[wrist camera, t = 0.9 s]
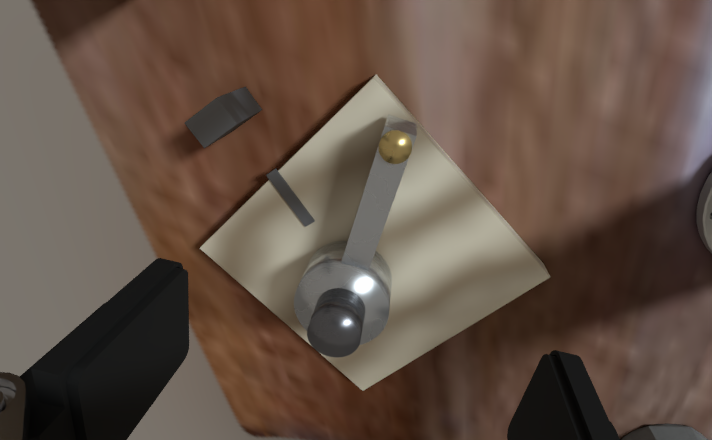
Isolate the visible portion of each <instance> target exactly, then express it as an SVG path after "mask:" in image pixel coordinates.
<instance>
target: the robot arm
mask: <svg viewBox="0 0 712 440" xmlns="http://www.w3.org/2000/svg"><path fill="white" fill-rule="evenodd" d="M696 223H697V227H698V231H699V235H700V238H701V239H702V241H703V243H704V245H705V247H706V248H707V249H708V250H709V251H710V252H711V253H712V172H711V173H710V175H709V176H708V178H707V180H706V182H705V184H704V187H703V189H702V191H701V193H700V197H699V201H698V205H697V220H696ZM188 349H189V310H188V272H187V270H184V269H183V266H182V264H181V263H179V262H174V261H170V260H166V259H161V258H158V259H156V260H155V261H154V262H153V263H151V264H150V265H149V266H148V267H147V268H146V269H145V270H143V271H142V272H141V273H140V274H139V275H138V276H137V277H135V278H134V279H133V280H132V281H131V282H129V283H128V284H127V285H126V286H125V287H124V288H123V289H121V290H120V291H119V292H118V293H117V294H116V295H115V296H114V297H112V298H111V299H110V300H109V301H108V302H106V303H105V304H103V305H102V306H101V307H100V308H98V309H97V310H96V311H95V312H94V313H93V314H92V315H90V316H89V317H88V318H87V319H86V320H85V321H84V322H82V323H81V324H80V325H79V326H78V327H76V328H75V329H74V330H73V331H72V332H71V333H70V334H68V335H67V336H66V337H65V338H64V339H63V340H62V341H60V342H59V343H58V344H57V345H56V346H55V347H53V348H52V349H51V350H50V351H49V352H48V353H46V354H45V355H44V356H43V357H42V358H41V359H40V360H38V361H37V362H36V363H35V364H34V365H33V366H32V367H30V368H29V369H28V370H27V371H26V372H25V373H23V374H22V375H21V376H20V377H19V376H17V375H14V374H11V373H4V372H3V373H2V372H0V440H127V438H128V437H129V435H130V434H131V433H132V431H133V430H134V428H135V427H136V426H137V424H138V423H139V422H140V420H141V419H142V417H143V416H144V415H145V413H146V412H147V411H148V409H149V408H150V407H151V405H152V404H153V402H154V401H155V400H156V398H157V397H158V395H159V394H160V393H161V391H162V390H163V389H164V387H165V386H166V384H167V383H168V382H169V380H170V379H171V378H172V376H173V375H174V373H175V372H176V371H177V369H178V368H179V367H180V365H181V364H182V362H183V361H184V359H185V358H186V356H187V353H188ZM507 439H508V440H620V439H619V436H618V434H617V432H616V430H615V428H614V426H613V425H612V423H611V422H610V421H609V419H608V417H607V415H606V413H605V411H604V408H603V406H602V404H601V402H600V399H599V397H598V395H597V393H596V391H595V388H594V386H593V384H592V382H591V380H590V377H589V375H588V373H587V371H586V368H585V366H584V364H583V362H582V360H581V358H580V357H579V356H577V355H573V354H569V353H565V352H560V351H556V350H555V351H552V352H551V353H550V355H547V354H544V355H543V356H542V358H541V360H540V362H539V364H538V366H537V368H536V370H535V372H534V375H533V377H532V379H531V381H530V383H529V385H528V387H527V389H526V391H525V393H524V395H523V398H522V400H521V402H520V404H519V406H518V408H517V410H516V412H515V414H514V416H513V418H512V421H511V423H510V425H509V428H508V434H507Z"/></svg>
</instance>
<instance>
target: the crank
mask: <svg viewBox="0 0 712 440" xmlns="http://www.w3.org/2000/svg"><path fill="white" fill-rule="evenodd" d="M416 137H417V123H414V122H411V121H408V120H404V119H401V118H398V117H395V116H392V115H389V114H388V117H387V120H386V123H385V126H384V129H383V132H382V135H381V139H380V142H379V145H378V148H377V151H376V154H375V157H374V160H373V164H372V167H371V170H370V173H369V176H368V179H367V182H366V186H365V189H364V192H363V195H362V198H361V201H360V204H359V208H358V211H357V214H356V217H355V220H354V223H353V226H352V229H351V233H350V236H349V239H348V241H336V242H332V243H329V244H327V245H325V246H323V247H321V248H320V249H318V250H317V251H316V252H315V253H314V254H313V256H312V257H311V259H310V261H309V263H308V265H307V267H306V269H305V272H304V274H303V276H302V278H301V281H300V283H299V285H298V287H297V290H296V292H295V296H294V310H295V313H296V316H297V318H298V320H299V322H300V324H301V325H302V326H303V327H304V329H305V330H306V331H307V337H308V340H309V342H310V344H311V345H312V347H313V348H314V349H315V350H317V351H318V352H319V353H321V354H323V355H326V356H329V357H336V358H338V357H345V356H348V355H350V354H352V353H353V352H355V351H356V350H357V348H358V347H359V345H362V344H365V343H367V342H369V341H371V340H373V339H374V338H376V337H377V336H378V335H379V334H380V333H381V332H382V331H383V329H384V328H385V326H386V324H387V321H388V317H389V309H390V298H391V288H392V275H391V271H390V268H389V266H388V264H387V262H386V261H385V259H384V258H383V257H382V256H381V255H380V254H379V253H378V252H377V251H376V248H377V246H378V243H379V240H380V237H381V234H382V232H383V229H384V226H385V223H386V220H387V218H388V215H389V212H390V209H391V206H392V204H393V201H394V198H395V195H396V193H397V190H398V187H399V184H400V181H401V179H402V176H403V173H404V170H405V167H406V165H407V162H408V159H409V156H410V154H411V151H412V148H413V145H414V142H415V139H416Z"/></svg>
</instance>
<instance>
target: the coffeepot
mask: <svg viewBox="0 0 712 440" xmlns="http://www.w3.org/2000/svg"><path fill="white" fill-rule="evenodd" d="M621 440H708V439H706V438H705V437H704V436H703V435H702V434H701V433H699V432H698V431H696V430H694V429H693V428H692V427H688V426H683V425H677V424H656V425H650V426H646V427H643V428H639V429H637V430H635V431H633V432H631V433H629V434H628V435H626V436H625V437H623V438H622V439H621Z"/></svg>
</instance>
